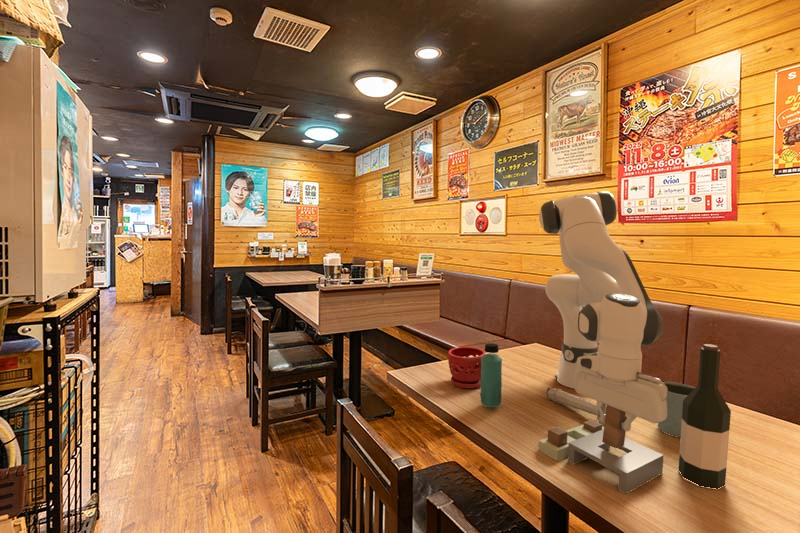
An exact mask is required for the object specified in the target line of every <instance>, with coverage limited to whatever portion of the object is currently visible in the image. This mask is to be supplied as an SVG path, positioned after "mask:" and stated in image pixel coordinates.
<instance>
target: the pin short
mask: <svg viewBox="0 0 800 533" xmlns="http://www.w3.org/2000/svg"><path fill="white" fill-rule="evenodd" d="M583 424H584V427H583V428H584V429H587V430H589V431H591V432H593V433H595V432H598V431H600V430H602V424H600V423H599V421H598V422H597V420H593V419H589V420H586V421H584V422H583Z"/></svg>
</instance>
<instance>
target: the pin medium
mask: <svg viewBox="0 0 800 533" xmlns="http://www.w3.org/2000/svg"><path fill="white" fill-rule="evenodd" d="M567 433H568V432H567V430H565V429H563V428H561V427H559V426H554V427H553V426H552V427H550V428H548V429H547V437H548V439H547V441H548V442H549V443H551V444H553V445H555V446H557V447H558V448H559V447H561V446H564V445H566V444H567Z"/></svg>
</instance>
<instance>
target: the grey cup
mask: <svg viewBox="0 0 800 533" xmlns="http://www.w3.org/2000/svg"><path fill="white" fill-rule="evenodd" d="M662 382H663V381H662ZM663 383H664V384H665V385H666V386H667V398H666V401H667V418H666V419H665V420H664V421H662V422H660V423H657V428H658V427H659V428H658V430H660V431H661V432H662V431H663V432H662V433H664V432H665V433H664V434H666V433H667V434H666V435H668V434H670V435H669V436H671V435H673V436H672V437H674V436H677V437H676V438H678V437H681V424H682V409H683V400H684V399H685V398H686V397H687V396H688V395H689V394H690V393H691V392H692V391H693V390H694V389H695V388H696V387H694V386H692V385H688V384H683V383H680V382H673V381H664V382H663ZM660 384H661V383H660Z"/></svg>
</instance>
